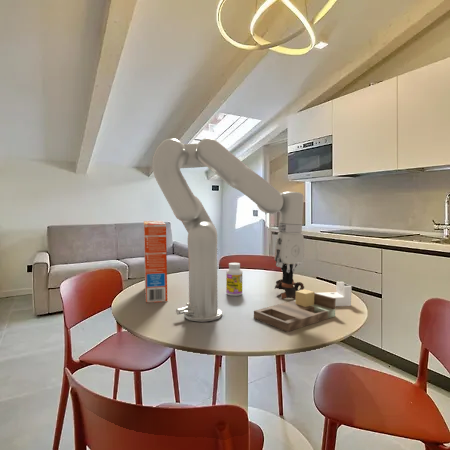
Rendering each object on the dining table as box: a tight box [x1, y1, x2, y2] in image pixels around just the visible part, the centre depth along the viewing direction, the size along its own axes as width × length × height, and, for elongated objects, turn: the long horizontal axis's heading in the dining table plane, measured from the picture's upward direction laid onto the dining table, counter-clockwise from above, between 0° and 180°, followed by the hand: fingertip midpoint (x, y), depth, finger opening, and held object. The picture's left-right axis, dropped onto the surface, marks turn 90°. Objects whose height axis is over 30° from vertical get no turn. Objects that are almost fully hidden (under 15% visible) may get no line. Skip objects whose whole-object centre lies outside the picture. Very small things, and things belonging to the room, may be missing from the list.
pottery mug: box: [274, 279, 305, 300], centre depth 140 cm, size 12×10×8 cm
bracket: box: [316, 281, 352, 307], centre depth 130 cm, size 13×7×8 cm, turn 95°
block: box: [295, 288, 315, 307], centre depth 120 cm, size 4×4×4 cm
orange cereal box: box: [143, 220, 168, 303], centre depth 143 cm, size 23×8×30 cm, turn 14°
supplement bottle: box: [225, 262, 243, 297], centre depth 143 cm, size 7×7×13 cm
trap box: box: [253, 288, 336, 333], centre depth 115 cm, size 23×15×6 cm, turn 126°
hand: (287, 283), depth 116 cm, fingers closed
